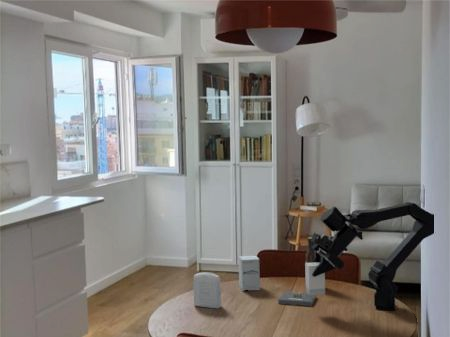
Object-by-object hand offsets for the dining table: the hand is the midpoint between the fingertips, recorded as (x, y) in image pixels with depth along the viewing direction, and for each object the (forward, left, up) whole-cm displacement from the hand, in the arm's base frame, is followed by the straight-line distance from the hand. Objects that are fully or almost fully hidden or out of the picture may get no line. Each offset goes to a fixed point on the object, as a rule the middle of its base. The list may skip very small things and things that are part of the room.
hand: (311, 274), depth 181 cm
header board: (+7, -12, -14) cm, 20 cm away
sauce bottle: (+3, -30, -14) cm, 34 cm away
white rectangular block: (-1, -1, -7) cm, 7 cm away
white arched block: (+38, 0, -14) cm, 40 cm away
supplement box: (+28, -24, -14) cm, 39 cm away
